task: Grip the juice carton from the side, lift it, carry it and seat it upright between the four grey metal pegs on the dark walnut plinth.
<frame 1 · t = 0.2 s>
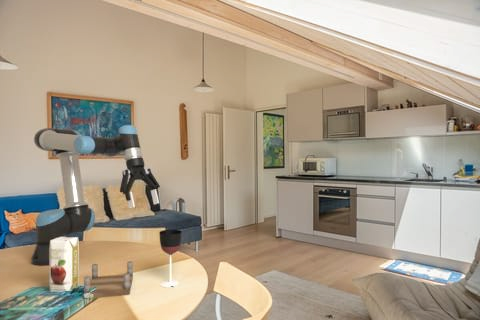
hand: (144, 205, 141), 28 cm above the table, tool tilted 20°, fingers open, 13 cm apart
juice carton: (64, 290, 119), on the table
wineglass: (170, 284, 126), on the table
peg plinth: (110, 288, 121), on the table
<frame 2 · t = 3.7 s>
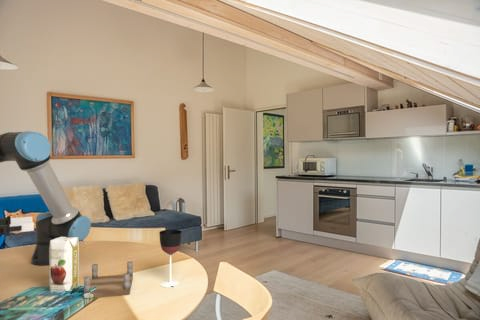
hand: (33, 223, 114), 26 cm above the table, tool horizontal, fingers open, 13 cm apart
nothing on the table moved.
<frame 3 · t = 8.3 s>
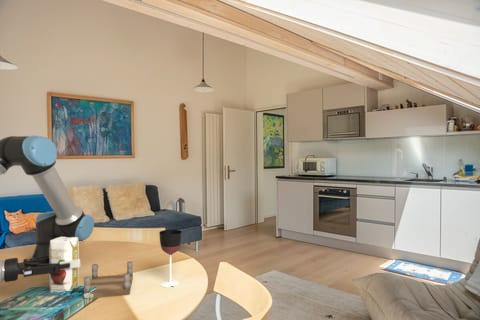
hand: (78, 259, 122), 11 cm above the table, tool horizontal, fingers closed on juice carton, 9 cm apart
juice carton: (64, 290, 119), on the table, touching gripper
everything else where it was.
when the fingers open (14 cm above the table, at t = 13.2 s): juice carton drops 1 cm, resting on peg plinth.
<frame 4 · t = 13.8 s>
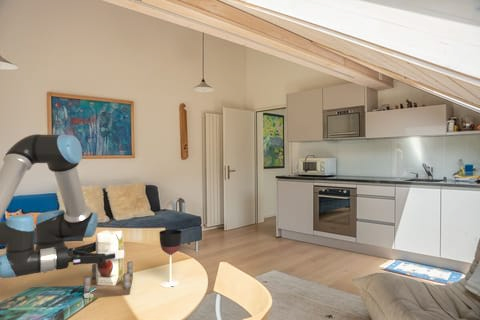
hand: (119, 249, 123), 14 cm above the table, tool horizontal, fingers open, 13 cm apart
juice carton: (109, 283, 121), point 2 cm above the table, touching peg plinth
everything else where it was.
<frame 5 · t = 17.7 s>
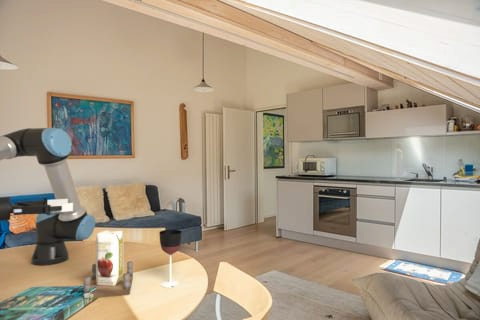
hand: (70, 204, 115), 32 cm above the table, tool horizontal, fingers open, 13 cm apart
nothing on the table moved.
at the end: juice carton 0.1 cm off-centre on the peg plinth, point 1.8 cm above the peg plinth's base; juice carton tilted 0°; the gripper is holding nothing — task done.
